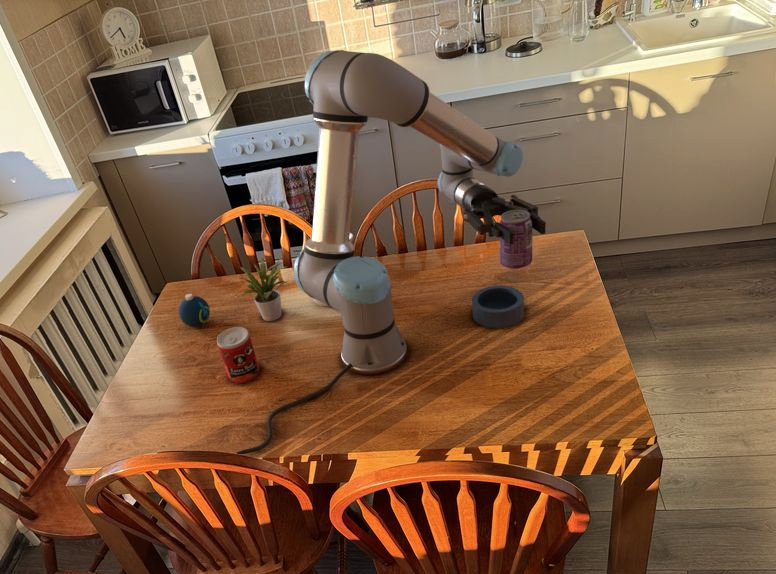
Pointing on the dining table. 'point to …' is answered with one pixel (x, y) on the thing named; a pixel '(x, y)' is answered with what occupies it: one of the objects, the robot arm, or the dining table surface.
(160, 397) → the dining table surface
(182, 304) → the christmas ornament
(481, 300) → the dark grey bowl
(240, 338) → the canned food
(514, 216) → the beverage can
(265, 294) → the house plant
